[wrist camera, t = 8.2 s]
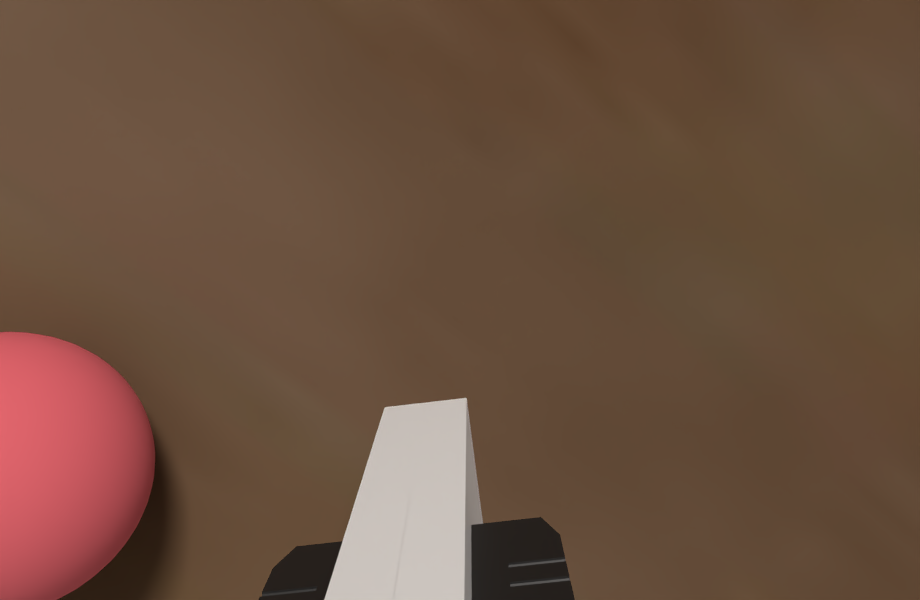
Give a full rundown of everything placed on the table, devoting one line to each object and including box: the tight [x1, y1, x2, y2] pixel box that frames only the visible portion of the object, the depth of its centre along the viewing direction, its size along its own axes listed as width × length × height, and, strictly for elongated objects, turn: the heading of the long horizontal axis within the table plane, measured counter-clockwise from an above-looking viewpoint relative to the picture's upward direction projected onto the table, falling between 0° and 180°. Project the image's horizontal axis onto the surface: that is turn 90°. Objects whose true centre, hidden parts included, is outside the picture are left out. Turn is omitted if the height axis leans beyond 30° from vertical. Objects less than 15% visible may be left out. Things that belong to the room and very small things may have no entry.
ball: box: [0, 332, 155, 600], centre depth 16 cm, size 6×6×6 cm
